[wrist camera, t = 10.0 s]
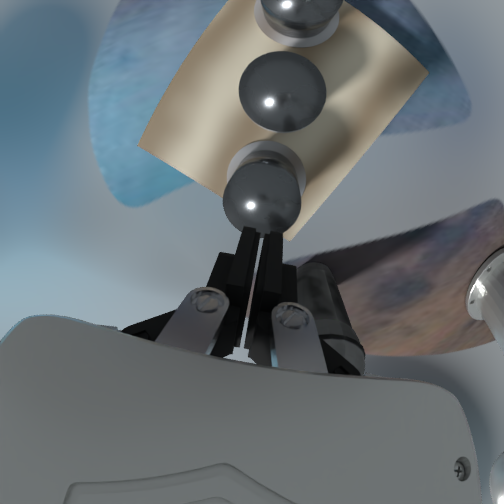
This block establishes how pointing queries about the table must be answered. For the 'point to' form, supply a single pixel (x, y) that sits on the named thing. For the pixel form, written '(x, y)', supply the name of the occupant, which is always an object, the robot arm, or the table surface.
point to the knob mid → (282, 91)
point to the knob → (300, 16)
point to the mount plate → (286, 143)
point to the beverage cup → (329, 311)
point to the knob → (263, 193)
